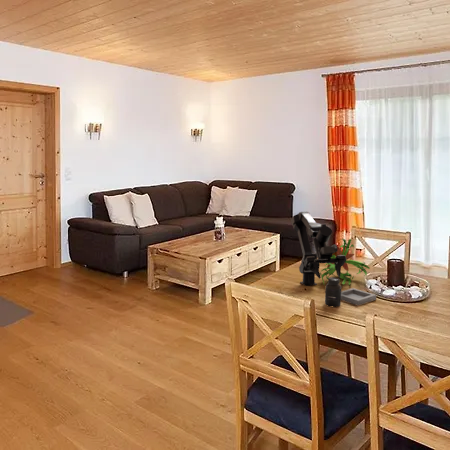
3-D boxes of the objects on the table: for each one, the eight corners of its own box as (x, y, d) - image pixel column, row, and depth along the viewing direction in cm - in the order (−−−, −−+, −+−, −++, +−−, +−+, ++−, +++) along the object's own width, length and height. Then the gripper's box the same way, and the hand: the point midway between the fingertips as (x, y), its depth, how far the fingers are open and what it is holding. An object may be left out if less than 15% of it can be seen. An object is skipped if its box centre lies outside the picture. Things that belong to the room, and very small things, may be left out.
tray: (334, 297, 207) (334, 293, 207) (352, 292, 215) (353, 288, 214) (357, 305, 197) (358, 300, 197) (376, 299, 204) (376, 294, 204)
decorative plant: (353, 282, 250) (370, 297, 220) (309, 273, 249) (320, 287, 220) (364, 236, 247) (383, 246, 217) (319, 227, 246) (332, 236, 216)
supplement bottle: (329, 308, 194) (330, 281, 192) (322, 303, 201) (322, 277, 199) (343, 306, 196) (344, 279, 194) (335, 301, 202) (336, 275, 200)
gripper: (306, 239, 202) (314, 269, 193) (345, 237, 205) (355, 267, 196) (300, 252, 211) (308, 282, 202) (338, 250, 214) (347, 279, 205)
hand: (329, 277), depth 201 cm, fingers open, 9 cm apart
